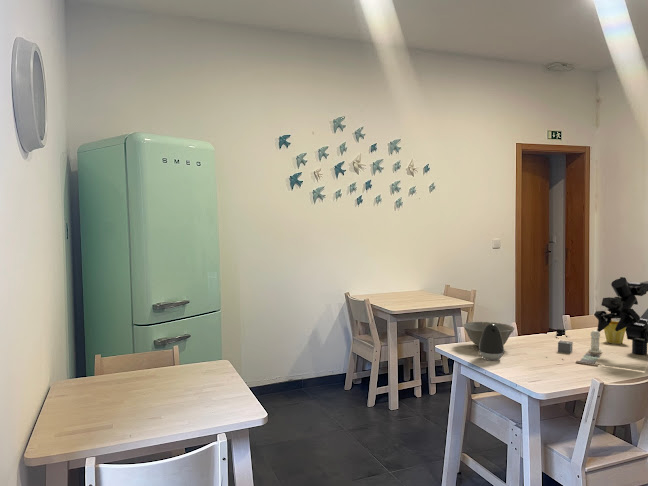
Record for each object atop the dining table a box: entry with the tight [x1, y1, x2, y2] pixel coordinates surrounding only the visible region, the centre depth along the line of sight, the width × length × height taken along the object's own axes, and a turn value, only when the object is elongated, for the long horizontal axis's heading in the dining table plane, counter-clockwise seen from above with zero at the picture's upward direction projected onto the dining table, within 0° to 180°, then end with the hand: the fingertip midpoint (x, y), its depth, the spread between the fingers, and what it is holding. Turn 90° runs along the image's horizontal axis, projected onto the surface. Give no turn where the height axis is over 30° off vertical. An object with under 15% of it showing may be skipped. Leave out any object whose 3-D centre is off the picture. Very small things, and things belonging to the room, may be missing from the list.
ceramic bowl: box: [463, 321, 515, 348], centre depth 233 cm, size 22×23×10 cm
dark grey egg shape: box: [478, 324, 505, 362], centre depth 212 cm, size 10×10×15 cm
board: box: [575, 350, 604, 367], centre depth 215 cm, size 26×8×1 cm, turn 144°
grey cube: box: [557, 339, 573, 354], centre depth 224 cm, size 5×5×5 cm
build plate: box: [555, 327, 566, 336], centre depth 257 cm, size 12×7×5 cm, turn 135°
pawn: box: [588, 329, 602, 355], centre depth 222 cm, size 5×5×10 cm
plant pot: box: [603, 320, 626, 345], centre depth 245 cm, size 10×10×10 cm
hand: (607, 330), depth 210 cm, fingers open, 9 cm apart
